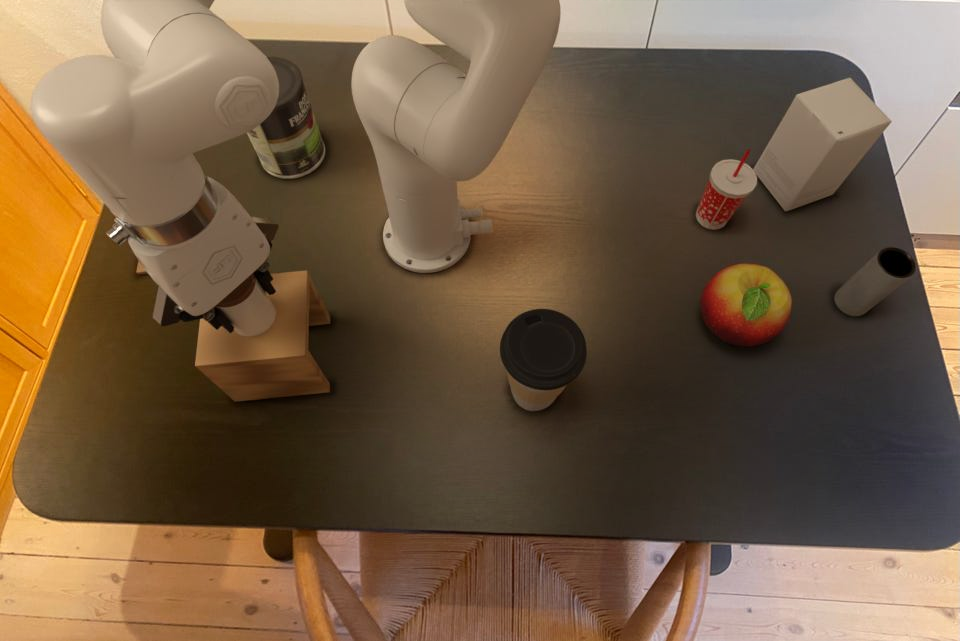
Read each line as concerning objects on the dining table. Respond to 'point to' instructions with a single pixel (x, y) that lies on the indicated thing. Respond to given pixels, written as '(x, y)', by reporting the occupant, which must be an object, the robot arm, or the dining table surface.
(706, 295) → the fruit
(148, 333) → the dining table surface
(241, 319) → the bean jar
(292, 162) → the coffee can
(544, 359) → the coffee cup
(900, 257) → the grey hollow cylinder
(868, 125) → the white product box
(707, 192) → the beverage cup
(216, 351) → the brown piece
